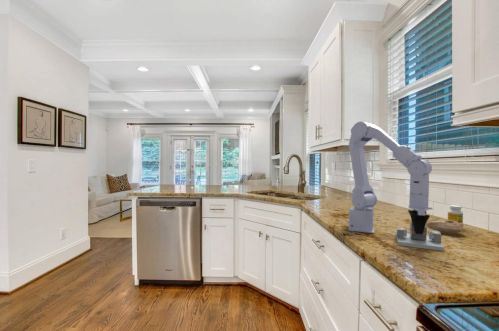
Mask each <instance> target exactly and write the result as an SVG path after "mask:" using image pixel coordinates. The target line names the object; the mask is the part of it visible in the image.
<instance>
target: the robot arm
mask: <svg viewBox="0 0 499 331" xmlns="http://www.w3.org/2000/svg"><path fill="white" fill-rule="evenodd" d="M350 133H351V134H350V138H349V142H348V149H349V154H350V162H351V167H352V174H353V180H354V187H353V189H352V191H351V192H352V197H351V204H352V206H353V207H349V211H348V223H347V224H348V231H351V232H359V233H360V232H361V233H367V234H375V227H374V218H375V217H374V213H375V212H374V210H375V208H374V207H375V206H376V204H377V202H378V198H377V195H376V194H375V193H374V189H373V187H372V186H371V185H370V181H369V175H368V169H367V163H366V156H365V151H364V147H365V146H366V144H367V143H368V142H370V141H371V140H374V139H375V140H377V141H378V142H379V143H381V144H382V145H383V146H385V148H387V149H388V150H390V151H391V152H392V157H393V158H394V159H395V160H397V162H399V163H400V164H401V165H402V166H403V167H405V169H407V172H408V174H409V175H410V177H409V201H408V202H409V203H408V204H409V205H408V210H407V212H408V213H409V216H410V219H411V223H413V224H414V230H415V233H416V234H423V232H424V228H425V226H426V223H427V222H428V220H429V219H430V215H429V214H427V211H429V210H433V207H432V206H429V198H430V197H429V196H430V192H429V191H430V174H431V172H432V171H433V166H432V164H431V162H430V161H429V160H427V159H423V156H422V155H418V154H417V153H416V152H415V151H413V148H412V147H411V145H410V146H409V145H405V144H403V145H402V144H401V145H400V144H399V143H398V142H397V141H396V140H394V138H392V137H391V136H390V135H389V134H388V133H387V132H385V131H384V130H383V129H382V128H381V127H379V126H377V125H376V124H375V123H370V122H369V123H368V122H364V121H357V122H356V123H354V125H353V126H352V127H351V128H350Z"/></svg>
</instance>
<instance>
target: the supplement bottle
mask: <svg viewBox="0 0 499 331" xmlns="http://www.w3.org/2000/svg"><path fill="white" fill-rule="evenodd" d="M447 220H453V221H456V222H458V223H462V224H463V225H464V213H463V211H462V206H460V205H456V204H455V205H453V204H450V205H449V209H448V211H447Z"/></svg>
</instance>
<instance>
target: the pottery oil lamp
mask: <svg viewBox="0 0 499 331" xmlns="http://www.w3.org/2000/svg"><path fill="white" fill-rule="evenodd" d="M425 226H426V227H427V229H430V230H432V231H439V232H440V233H441V234H445V235H455V234H458V233H461V232H462V231H464V230H465V227H464V223H463V224H462V223H458V222H456V221H453V220H448V219H447V220H435V221H427V222H426V225H425Z"/></svg>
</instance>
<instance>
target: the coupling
mask: <svg viewBox="0 0 499 331" xmlns="http://www.w3.org/2000/svg"><path fill="white" fill-rule="evenodd" d="M427 229H428V227H427V226H426V225H425V228H424V232H423V234H416V233H415V230H414V224H413V223H412V222H411V223H409V234H410V237H411V239H418V240H426V236H428V230H427Z"/></svg>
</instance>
